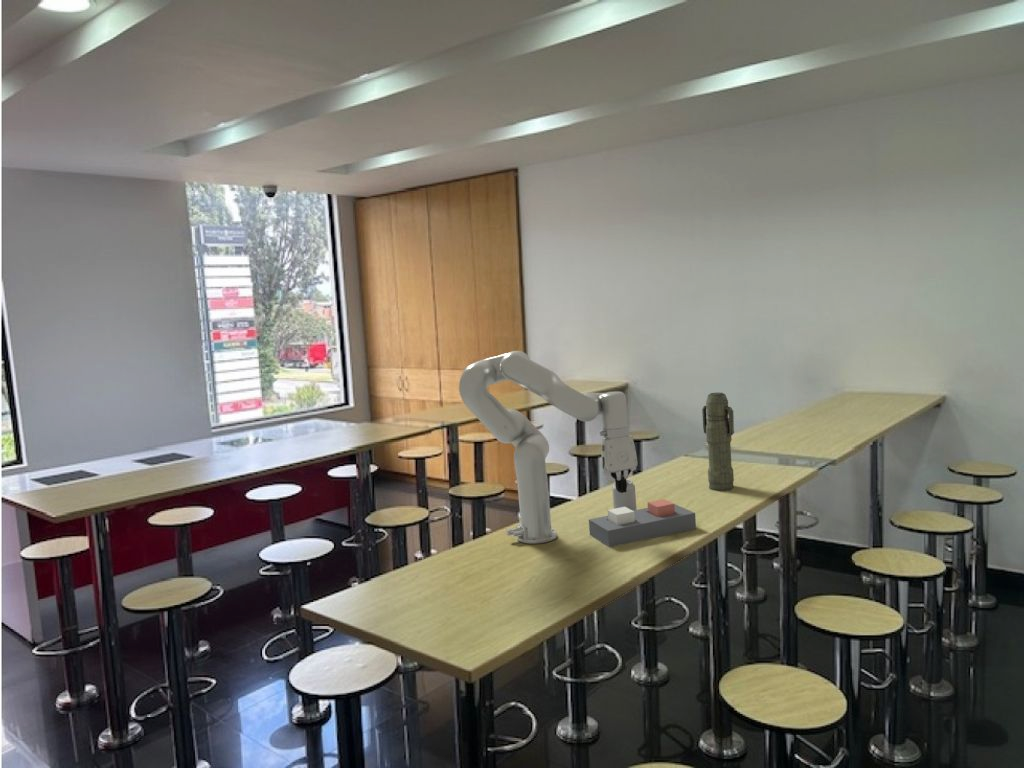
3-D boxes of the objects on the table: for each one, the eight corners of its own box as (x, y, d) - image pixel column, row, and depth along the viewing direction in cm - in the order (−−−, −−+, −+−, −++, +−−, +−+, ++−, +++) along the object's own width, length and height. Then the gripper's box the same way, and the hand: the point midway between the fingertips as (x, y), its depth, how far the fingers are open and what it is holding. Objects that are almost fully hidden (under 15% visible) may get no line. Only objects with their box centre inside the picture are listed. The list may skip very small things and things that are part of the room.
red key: (658, 519, 221) (657, 506, 220) (648, 514, 227) (647, 502, 226) (675, 516, 223) (674, 503, 222) (664, 511, 228) (664, 499, 228)
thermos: (731, 492, 257) (727, 395, 252) (701, 489, 264) (696, 395, 260) (742, 486, 263) (737, 392, 259) (711, 483, 271) (707, 391, 267)
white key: (617, 527, 216) (616, 514, 216) (608, 522, 222) (607, 510, 222) (635, 524, 218) (634, 511, 218) (625, 519, 224) (624, 506, 223)
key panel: (609, 547, 212) (607, 530, 211) (589, 534, 224) (588, 519, 224) (696, 528, 222) (695, 513, 221) (673, 517, 234) (672, 502, 233)
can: (636, 519, 235) (634, 484, 234) (613, 520, 236) (611, 484, 235) (637, 512, 242) (635, 478, 241) (614, 513, 244) (612, 479, 242)
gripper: (599, 438, 211) (605, 499, 213) (644, 430, 216) (649, 489, 218) (588, 435, 218) (594, 493, 220) (632, 427, 223) (637, 484, 225)
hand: (621, 491), depth 219 cm, fingers closed
